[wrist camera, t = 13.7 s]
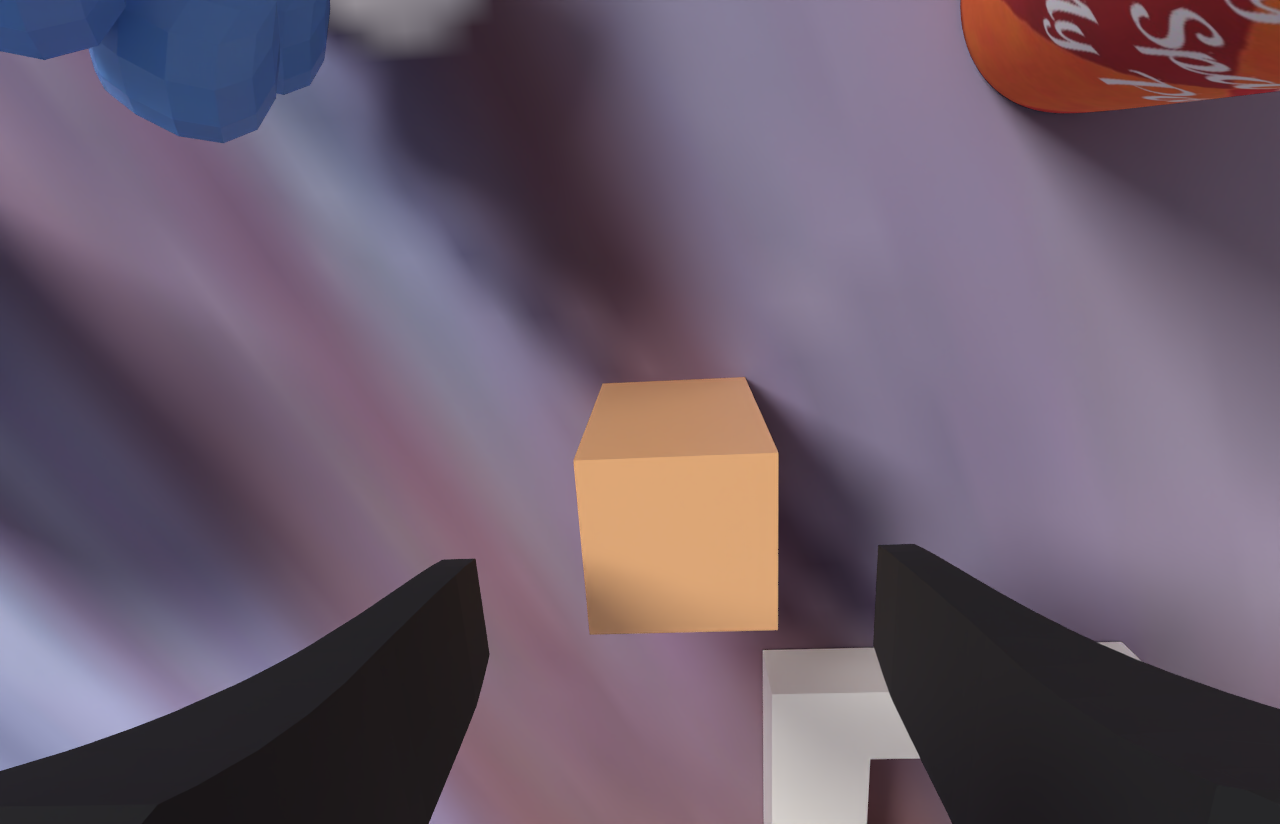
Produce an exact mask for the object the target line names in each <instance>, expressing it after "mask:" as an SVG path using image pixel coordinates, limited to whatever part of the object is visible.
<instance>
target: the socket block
mask: <svg viewBox="0 0 1280 824" xmlns="http://www.w3.org/2000/svg"><path fill="white" fill-rule="evenodd" d="M1097 643H1100V644H1102V645H1104V646H1107V647H1109V648H1111V649H1114V650H1116V651H1118V652H1121V653H1123V654H1125V655H1128V656H1130V657H1132V658H1134V659H1137V660H1139V661H1141V660H1140V659H1139V658H1138V657H1137V656H1136V655H1135V654H1134V653H1133V652H1132V651H1131V650H1129V649H1128V648H1127V647H1126V646H1125V645H1124V644H1123V643H1122V642H1097ZM870 759H920V757H919V755H918V753H917V751H916V749H915V747H914V744H913V742H912V740H911V738H910V736H909V734H908V732H907V730H906V728H905V726H904V724H903V722H902V720H901V718H900V716H899V714H898V712H897V710H896V707H895V705H894V703H893V701H892V699H891V697H890V694H889V691H888V688H887V685H886V682H885V680H884V677H883V674H882V671H881V668H880V664H879V661H878V658H877V655H876V652H875V649H874V648H834V649H791V650H763V791H764V824H867V811H868V792H869V774H870Z"/></svg>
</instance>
